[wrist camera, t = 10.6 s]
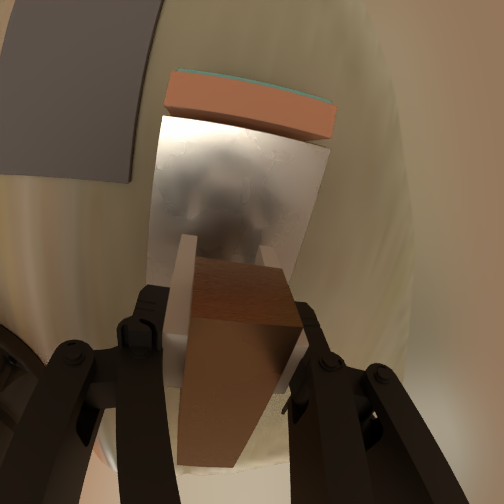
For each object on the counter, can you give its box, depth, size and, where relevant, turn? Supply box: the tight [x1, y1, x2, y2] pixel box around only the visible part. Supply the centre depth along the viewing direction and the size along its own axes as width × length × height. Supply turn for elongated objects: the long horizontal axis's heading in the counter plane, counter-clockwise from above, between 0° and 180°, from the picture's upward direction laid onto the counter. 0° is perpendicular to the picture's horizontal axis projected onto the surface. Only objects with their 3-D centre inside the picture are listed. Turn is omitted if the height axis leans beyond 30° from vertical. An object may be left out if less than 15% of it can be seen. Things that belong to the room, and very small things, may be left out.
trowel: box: [146, 115, 331, 468], centre depth 13 cm, size 15×8×9 cm, turn 167°
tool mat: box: [0, 0, 164, 184], centre depth 13 cm, size 13×22×1 cm, turn 168°
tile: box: [164, 68, 337, 141], centre depth 14 cm, size 7×2×8 cm, turn 78°
